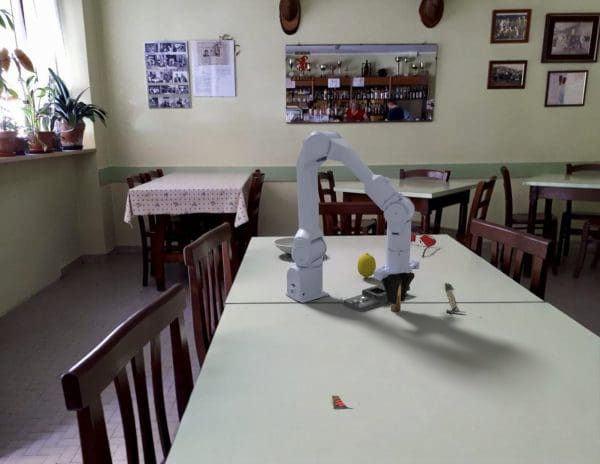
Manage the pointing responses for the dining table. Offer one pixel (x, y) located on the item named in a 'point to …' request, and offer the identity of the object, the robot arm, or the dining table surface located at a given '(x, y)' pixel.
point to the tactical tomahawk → (451, 300)
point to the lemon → (366, 265)
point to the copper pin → (397, 306)
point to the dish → (284, 244)
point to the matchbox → (338, 402)
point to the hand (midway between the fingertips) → (395, 301)
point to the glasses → (424, 241)
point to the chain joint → (368, 298)
